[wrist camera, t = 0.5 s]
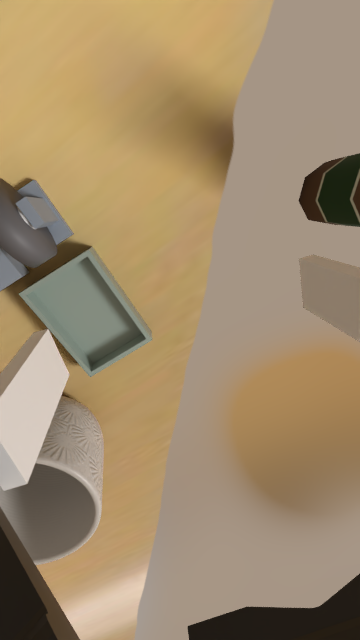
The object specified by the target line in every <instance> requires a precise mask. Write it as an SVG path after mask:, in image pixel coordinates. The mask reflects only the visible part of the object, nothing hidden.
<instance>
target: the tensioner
mask: <svg viewBox="0 0 360 640" xmlns="http://www.w3.org/2000/svg"><path fill="white" fill-rule="evenodd" d="M73 234H74V233H73V232H72V231H71V229H70V228H69V226H68V225H67V224H66V222H65V221H64V219H63V218H62V217H61V215H60V214H59V212H58V211H57V209H56V208H55V207H54V205H53V204H52V202H51V201H50V200H49V198H48V197H47V195H46V194H45V193H44V191H43V190H42V188H41V187H40V186H39V184H38V183H37V181H36V180H33V181H31V182H30V183H28V184H27V185H25V186H24V187H22V188H21V189H19V190H18V191H17V190H16V189H14V188H13V187H12V186H11V185H10V184H8V183H7V182H6V181H4V180H2V179H1V178H0V291H1V290H3V289H4V288H6V287H7V286H9V285H11V284H12V283H14V282H15V281H17V280H18V279H20V278H22V277H23V276H25V275H26V274H28V273H29V271H28V270H27V268H26V267H25V266H24V265H26V266H28V267H32V268H36V267H38V266H40V265H41V264H43V263H44V262H46V261H47V260H49V259H51V258H52V257H54V256H55V255H56V254H57V246H56V245H57V244H59V243H60V242H62V241H64V240H65V239H67V238H68V237H70V236H71V235H73ZM23 264H24V265H23Z"/></svg>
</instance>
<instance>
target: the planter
mask: <svg viewBox="0 0 360 640" xmlns="http://www.w3.org/2000/svg"><path fill="white" fill-rule="evenodd" d="M103 457H104V442H103V435H102V431H101V428H100V425H99V423H98V421H97V419H96V418H95V416H94V415H93V413H92V412H91V411H90V410H89V409H88V408H87V407H86V406H84V405H83V404H81V403H80V402H78V401H76V400H74V399H71V398H68V397H64V396H61V398H60V400H59V403H58V405H57V408H56V411H55V413H54V416H53V418H52V421H51V424H50V426H49V429H48V431H47V434H46V437H45V439H44V442H43V444H42V447H41V450H40V452H39V455H38V457H37V460H36V463H35V465H34V468H33V470H32V473H31V476H30V478H29V481H28V483H27V484H25V485H22V486H19V487H15V488H12V489H9V490H5V491H4V490H3V489H2V488H1V486H0V507H1V509H2V510H3V512H4V514H5V515H6V517H7V519H8V520H9V522H10V524H11V525H12V527H13V529H14V530H15V532H16V534H17V535H18V537H19V539H20V540H21V542H22V544H23V545H24V547H25V549H26V550H27V552H28V554H29V555H30V557H31V559H32V560H33V562H34V564H35V565H40V564H44V563H48V562H52V561H55V560H58V559H60V558H63V557H65V556H67V555H69V554H71V553H73V552H74V551H76V550H77V549H79V548H80V547H81V546H83V545H84V544H85V543H86V542H87V541H88V540H89V539H90V538H91V536H92V535H93V534H94V532H95V530H96V529H97V527H98V524H99V522H100V518H101V509H102V483H103Z"/></svg>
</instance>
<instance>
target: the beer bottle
mask: <svg viewBox="0 0 360 640" xmlns="http://www.w3.org/2000/svg"><path fill="white" fill-rule="evenodd" d="M299 202H300V204H301V206H302V208H303V210H304V212H305V214H306V216H307V218H308V220H312V221H317V222H323V223H329V224H334V225H345V226H357V227H360V154H355V155H351V156H347V157H343V158H339V159H335V160H331V161H329V162H326V163H324V164H322V165H321V166H320V167H319V168H317V169H316V170H314V171H313V172H312V173H311V174H309V175H308V176H307V177H305V180H304V184H303V187H302V191H301V195H300V198H299Z"/></svg>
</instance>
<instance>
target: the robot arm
mask: <svg viewBox="0 0 360 640" xmlns="http://www.w3.org/2000/svg"><path fill="white" fill-rule="evenodd" d="M299 262H300V273H301V286H302V298H303V308H305V309H306V310H308V311H310V312H311V313H313V314H315V315H316V316H318V317H320V318H321V319H323V320H325V321H326V322H328V323H329V324H331V325H333V326H334V327H336V328H338V329H339V330H341V331H343V332H344V333H346V334H347V335H349V336H351V337H352V338H354V339H356V340H357V341H359V342H360V268H359V267H355V266H352V265H348V264H344V263H341V262H338V261H334V260H330V259H327V258H323V257H319V256H316V255H311V256H307V257H303V258H300V259H299ZM68 377H69V372H68V370H67V368H66V366H65V364H64V362H63V360H62V357H61V355H60V353H59V351H58V349H57V347H56V344H55V342H54V340H53V338H52V336H51V334H50V331H49V329H45V330H42V331H38V332H34V333H32V335H31V336H30V337H29V339H28V340H27V341H26V342H25V344H24V345H23V346H22V347H21V349H20V350H19V351H18V352H17V354H16V355H15V356H14V357H13V359H12V360H11V361H10V362H9V364H8V365H7V366H6V367H5V369H4V370H3V371H2V372H1V374H0V486H1V488H2V489H3V490H4V491H5V490H9V489H12V488H15V487H19V486H22V485H25V484H27V483H28V481H29V478H30V476H31V473H32V470H33V468H34V465H35V463H36V460H37V457H38V455H39V452H40V450H41V447H42V444H43V442H44V439H45V437H46V434H47V431H48V429H49V426H50V424H51V421H52V418H53V416H54V413H55V411H56V408H57V405H58V403H59V400H60V398H61V395H62V392H63V390H64V387H65V385H66V382H67V379H68ZM188 634H189V640H360V574H359V575H358V576H356V577H355V578H354V579H353V580H352V581H350V582H349V583H348V584H347V585H345V586H344V587H343V588H342V589H341V590H339V591H338V592H337V593H336V594H335V595H333V596H332V597H331V598H330V599H329V600H327V601H326V602H325V603H324V604H322V605H321V606H319V607H316V608H275V607H245V608H242V609H239V610H236V611H233V612H229V613H226V614H223V615H220V616H217V617H214V618H211V619H208V620H205V621H202V622H199V623H196V624H193V625H190V626H188ZM0 640H80V639H79V637H78V636H77V634H76V632H75V631H74V629H73V627H72V626H71V624H70V622H69V621H68V619H67V617H66V616H65V614H64V612H63V611H62V609H61V607H60V606H59V604H58V602H57V601H56V599H55V597H54V596H53V594H52V592H51V591H50V589H49V587H48V586H47V584H46V582H45V581H44V579H43V577H42V575H41V574H40V572H39V570H38V569H37V567H36V565H35V564H34V562H33V560H32V559H31V557H30V555H29V554H28V552H27V550H26V549H25V547H24V545H23V544H22V542H21V540H20V539H19V537H18V535H17V534H16V532H15V530H14V529H13V527H12V525H11V524H10V522H9V520H8V519H7V517H6V515H5V514H4V512H3V510H2V509H1V507H0Z"/></svg>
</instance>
